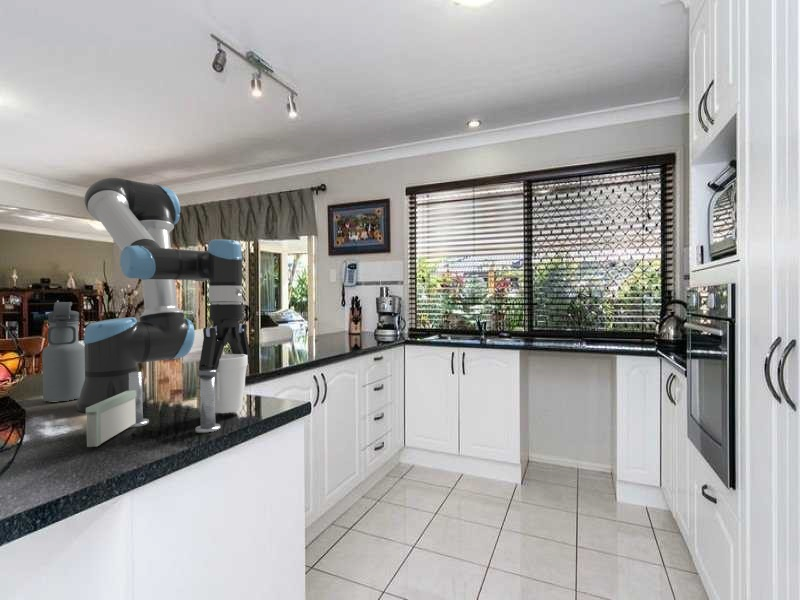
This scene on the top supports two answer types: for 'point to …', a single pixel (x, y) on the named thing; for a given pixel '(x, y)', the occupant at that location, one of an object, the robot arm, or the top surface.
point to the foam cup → (231, 382)
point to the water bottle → (63, 356)
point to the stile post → (207, 401)
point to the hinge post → (137, 397)
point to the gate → (110, 417)
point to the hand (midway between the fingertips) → (227, 394)
